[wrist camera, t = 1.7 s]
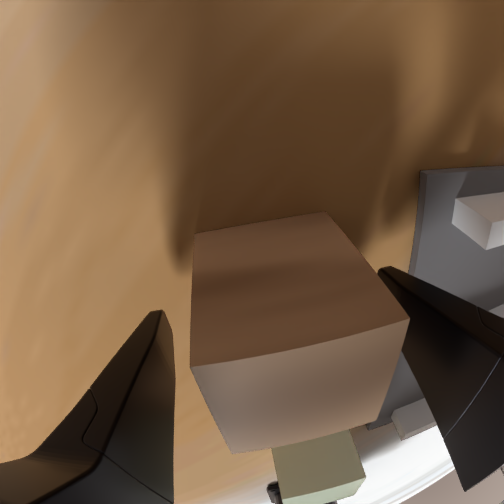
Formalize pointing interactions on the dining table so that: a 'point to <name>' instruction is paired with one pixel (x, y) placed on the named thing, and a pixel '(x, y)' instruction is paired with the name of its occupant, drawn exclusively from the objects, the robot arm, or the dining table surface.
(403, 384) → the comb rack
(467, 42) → the dining table surface
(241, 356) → the walnut block
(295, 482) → the sage block
